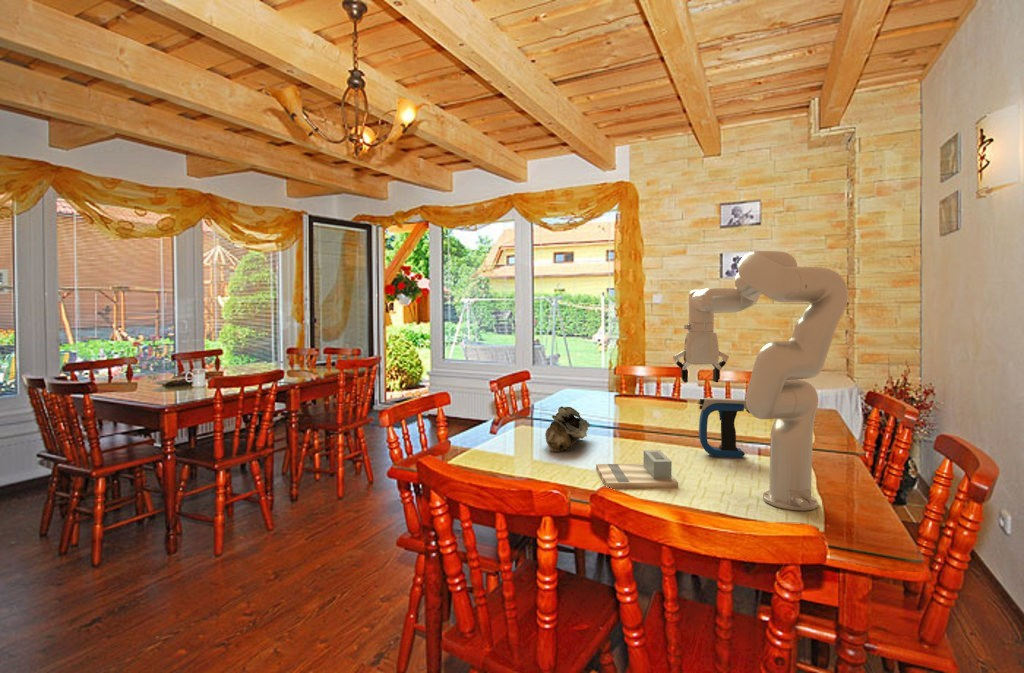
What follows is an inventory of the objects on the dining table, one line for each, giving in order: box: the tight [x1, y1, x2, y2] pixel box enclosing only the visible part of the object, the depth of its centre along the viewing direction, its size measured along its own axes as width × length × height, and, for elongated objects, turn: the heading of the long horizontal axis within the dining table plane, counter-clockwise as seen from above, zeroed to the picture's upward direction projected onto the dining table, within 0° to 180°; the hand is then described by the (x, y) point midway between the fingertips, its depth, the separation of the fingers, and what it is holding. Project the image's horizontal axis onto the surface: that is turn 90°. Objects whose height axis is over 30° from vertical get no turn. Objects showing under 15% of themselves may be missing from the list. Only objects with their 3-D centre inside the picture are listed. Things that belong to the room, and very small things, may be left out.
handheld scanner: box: [698, 397, 751, 459], centre depth 182 cm, size 5×16×20 cm, turn 78°
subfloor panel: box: [595, 463, 679, 489], centre depth 161 cm, size 18×20×2 cm
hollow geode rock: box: [544, 406, 591, 453], centre depth 200 cm, size 28×13×15 cm
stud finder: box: [642, 449, 673, 479], centre depth 161 cm, size 12×5×5 cm, turn 0°
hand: (700, 381), depth 175 cm, fingers open, 9 cm apart
